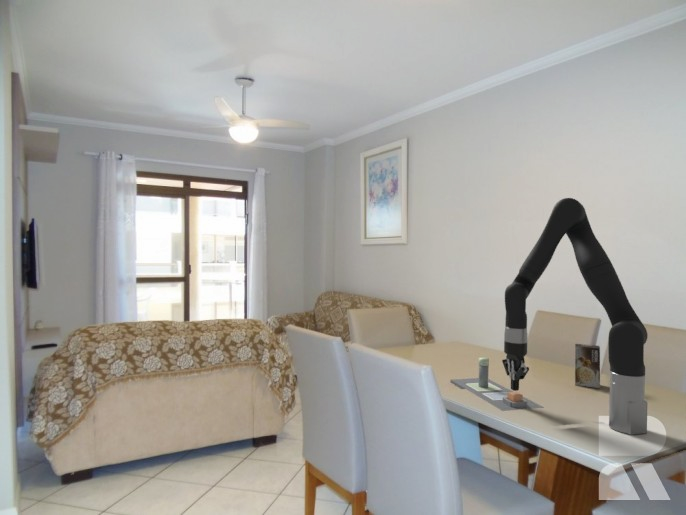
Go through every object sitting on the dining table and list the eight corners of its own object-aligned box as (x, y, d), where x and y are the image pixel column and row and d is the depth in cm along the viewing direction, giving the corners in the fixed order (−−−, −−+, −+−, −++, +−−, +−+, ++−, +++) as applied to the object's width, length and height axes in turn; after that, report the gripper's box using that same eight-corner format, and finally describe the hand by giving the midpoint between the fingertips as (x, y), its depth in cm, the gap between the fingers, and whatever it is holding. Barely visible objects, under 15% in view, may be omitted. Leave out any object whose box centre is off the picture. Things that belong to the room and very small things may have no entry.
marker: (490, 387, 183) (490, 359, 183) (481, 388, 182) (481, 359, 182) (485, 385, 187) (485, 357, 186) (476, 385, 186) (476, 357, 185)
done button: (522, 401, 162) (522, 394, 162) (513, 402, 162) (513, 395, 162) (516, 398, 166) (516, 391, 166) (507, 399, 165) (507, 392, 165)
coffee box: (599, 384, 192) (600, 345, 192) (600, 388, 187) (600, 348, 187) (574, 381, 197) (575, 343, 196) (574, 385, 191) (574, 345, 191)
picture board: (544, 410, 161) (544, 402, 161) (502, 413, 157) (502, 405, 157) (485, 380, 198) (485, 373, 198) (450, 382, 194) (450, 375, 194)
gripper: (537, 343, 158) (536, 395, 158) (514, 336, 171) (513, 384, 171) (517, 344, 156) (516, 396, 157) (495, 337, 169) (494, 385, 169)
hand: (514, 389), depth 164 cm, fingers closed
